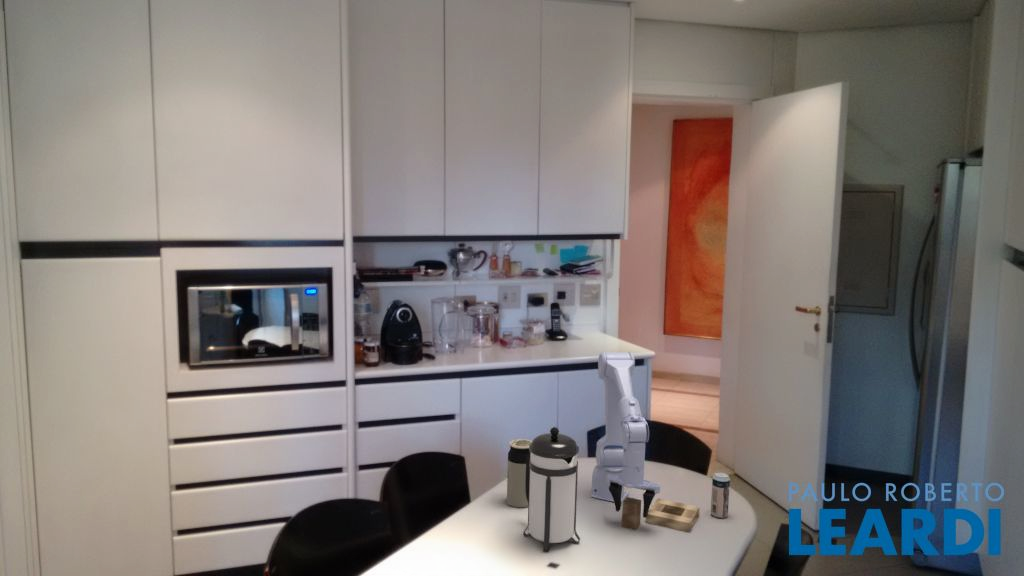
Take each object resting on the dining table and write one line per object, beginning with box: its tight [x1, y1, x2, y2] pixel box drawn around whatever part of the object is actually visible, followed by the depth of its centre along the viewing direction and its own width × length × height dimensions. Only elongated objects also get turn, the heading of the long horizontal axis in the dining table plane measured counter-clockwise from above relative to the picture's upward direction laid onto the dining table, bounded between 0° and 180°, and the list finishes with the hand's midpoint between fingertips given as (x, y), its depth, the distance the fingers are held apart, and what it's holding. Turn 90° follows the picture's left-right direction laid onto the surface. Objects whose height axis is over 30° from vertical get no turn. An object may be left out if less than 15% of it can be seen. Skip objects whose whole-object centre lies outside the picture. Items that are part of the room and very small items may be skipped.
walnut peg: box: [621, 496, 642, 531], centre depth 186 cm, size 4×4×7 cm
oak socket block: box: [645, 498, 701, 533], centre depth 191 cm, size 12×12×2 cm
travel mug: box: [506, 438, 533, 508], centre depth 198 cm, size 8×8×18 cm
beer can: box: [710, 471, 731, 519], centre depth 193 cm, size 5×5×12 cm
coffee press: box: [522, 426, 581, 553], centre depth 176 cm, size 17×16×30 cm
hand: (631, 513), depth 185 cm, fingers open, 7 cm apart
